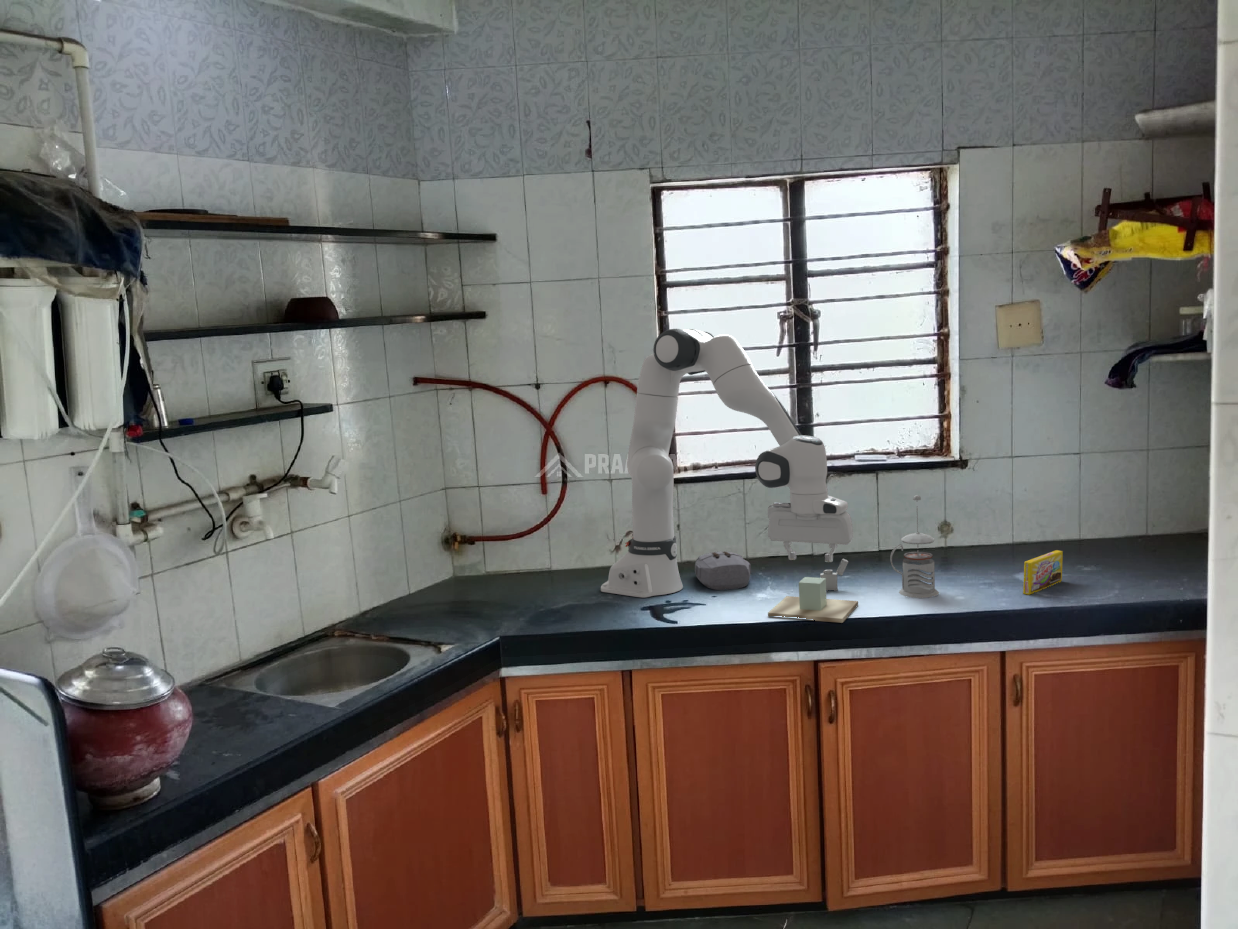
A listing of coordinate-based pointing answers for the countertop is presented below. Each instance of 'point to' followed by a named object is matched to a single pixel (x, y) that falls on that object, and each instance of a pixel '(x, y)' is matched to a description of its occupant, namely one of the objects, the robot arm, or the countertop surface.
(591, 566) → the countertop surface
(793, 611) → the post stand
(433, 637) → the countertop surface
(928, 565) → the french press
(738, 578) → the grey rounded bag
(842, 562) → the lighter
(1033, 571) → the candy box
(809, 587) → the pale sage rectangular block
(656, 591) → the robot arm
